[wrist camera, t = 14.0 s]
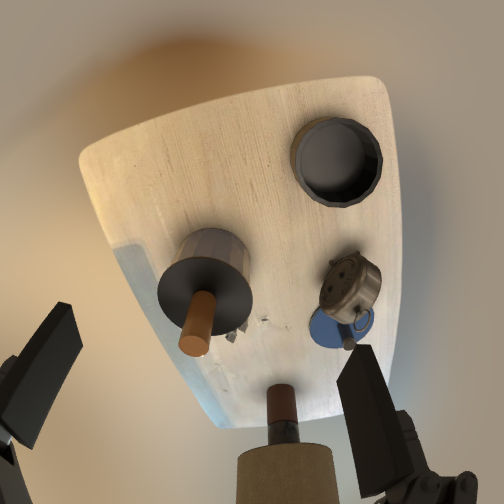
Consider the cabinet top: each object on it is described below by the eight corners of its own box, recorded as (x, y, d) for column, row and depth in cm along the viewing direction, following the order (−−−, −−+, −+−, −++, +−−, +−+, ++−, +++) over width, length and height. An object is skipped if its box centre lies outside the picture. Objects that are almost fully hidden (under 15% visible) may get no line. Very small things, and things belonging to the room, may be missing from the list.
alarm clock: (329, 295, 53) (351, 358, 38) (307, 282, 51) (325, 346, 37) (367, 251, 49) (405, 307, 34) (346, 235, 47) (381, 290, 33)
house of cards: (243, 343, 59) (242, 371, 52) (208, 324, 56) (203, 351, 49) (271, 318, 55) (273, 346, 49) (235, 296, 53) (233, 323, 46)
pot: (165, 243, 48) (146, 275, 39) (232, 217, 46) (226, 246, 37) (197, 299, 53) (187, 338, 44) (260, 279, 51) (262, 318, 42)
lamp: (245, 413, 72) (243, 526, 41) (234, 370, 63) (226, 515, 32) (317, 406, 71) (333, 519, 40) (322, 362, 62) (349, 505, 31)
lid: (142, 272, 39) (116, 317, 30) (229, 239, 37) (221, 284, 28) (187, 338, 45) (175, 387, 36) (266, 317, 43) (268, 369, 34)
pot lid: (301, 308, 54) (306, 333, 48) (367, 284, 52) (380, 307, 45) (317, 351, 60) (322, 376, 54) (375, 332, 58) (385, 355, 51)
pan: (278, 132, 40) (281, 134, 35) (355, 108, 38) (368, 108, 33) (305, 207, 45) (311, 219, 40) (376, 182, 43) (390, 192, 38)
